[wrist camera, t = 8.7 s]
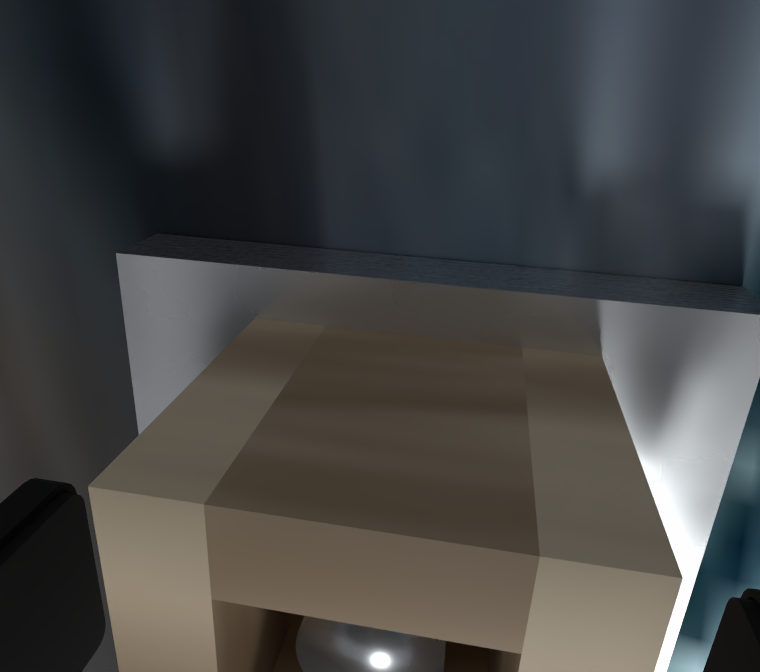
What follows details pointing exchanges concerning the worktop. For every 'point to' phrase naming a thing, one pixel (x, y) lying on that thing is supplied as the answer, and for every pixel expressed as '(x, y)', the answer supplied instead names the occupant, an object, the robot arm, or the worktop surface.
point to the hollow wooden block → (386, 509)
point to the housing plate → (480, 325)
